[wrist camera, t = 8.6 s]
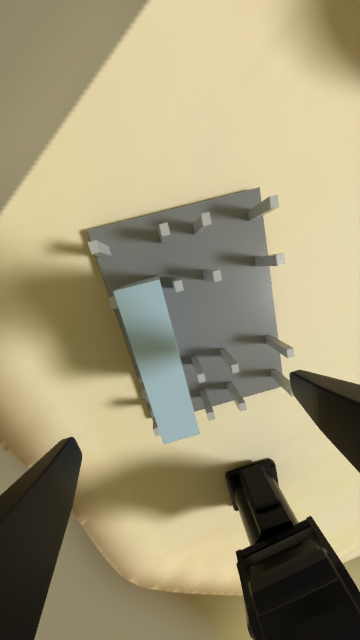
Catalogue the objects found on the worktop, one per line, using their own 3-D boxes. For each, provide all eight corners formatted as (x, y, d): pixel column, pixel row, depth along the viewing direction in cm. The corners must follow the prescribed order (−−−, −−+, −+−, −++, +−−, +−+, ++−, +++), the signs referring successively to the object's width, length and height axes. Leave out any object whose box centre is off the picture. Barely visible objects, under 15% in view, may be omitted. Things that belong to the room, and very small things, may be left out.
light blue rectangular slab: (184, 372, 20) (199, 434, 13) (161, 378, 20) (163, 444, 13) (159, 275, 18) (159, 279, 10) (133, 282, 18) (113, 291, 10)
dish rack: (279, 381, 23) (306, 406, 19) (154, 418, 22) (152, 451, 18) (255, 190, 18) (284, 166, 13) (90, 231, 17) (67, 219, 13)
